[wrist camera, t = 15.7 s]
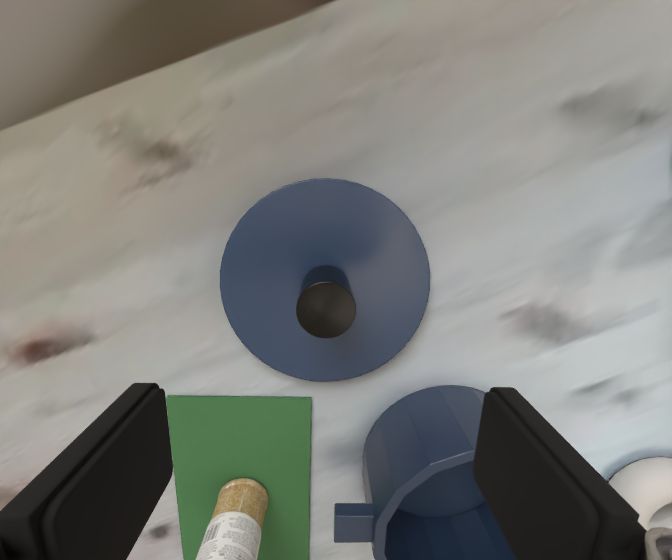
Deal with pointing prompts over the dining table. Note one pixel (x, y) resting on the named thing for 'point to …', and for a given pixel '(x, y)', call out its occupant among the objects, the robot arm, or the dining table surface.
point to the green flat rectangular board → (243, 465)
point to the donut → (647, 490)
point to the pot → (424, 483)
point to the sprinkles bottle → (236, 522)
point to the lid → (324, 279)
